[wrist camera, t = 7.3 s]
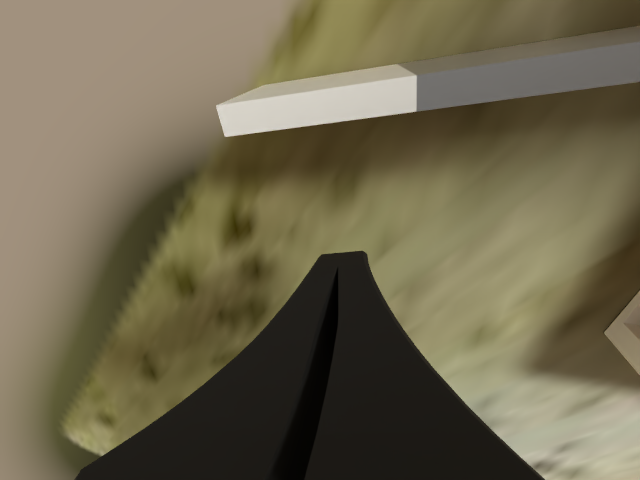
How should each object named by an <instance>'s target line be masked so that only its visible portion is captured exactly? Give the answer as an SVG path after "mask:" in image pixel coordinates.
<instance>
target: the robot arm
mask: <svg viewBox="0 0 640 480" xmlns="http://www.w3.org/2000/svg"><path fill="white" fill-rule="evenodd" d="M75 480H545V479H544V478H543V477H542V476H540V475H539V474H538V473H537V472H536V471H535V470H534V469H533V468H532V467H531V466H529V465H528V464H527V463H526V462H525V461H524V460H523V459H522V458H521V457H520V456H518V455H517V454H516V453H515V452H514V451H513V450H512V449H511V448H510V447H509V446H508V445H507V444H506V443H505V442H504V441H503V440H502V439H501V438H499V437H498V436H497V435H496V434H495V433H494V432H493V431H492V430H491V429H490V428H489V427H488V426H487V425H486V424H485V423H484V422H483V421H482V420H481V419H480V418H479V417H478V416H477V415H476V414H475V413H474V412H473V411H472V410H471V409H470V408H469V407H468V406H467V405H466V404H465V403H464V401H463V400H462V399H461V398H460V397H459V396H458V395H457V394H456V393H455V392H454V390H453V389H452V388H451V387H450V386H449V385H448V384H447V383H446V382H445V381H444V379H443V378H442V377H441V376H440V375H439V374H438V373H437V372H436V371H435V370H434V368H433V367H432V366H431V365H430V363H429V362H428V361H427V360H426V359H425V357H424V356H423V355H422V354H421V352H420V351H419V350H418V349H417V347H416V346H415V345H414V343H413V342H412V341H411V339H410V338H409V337H408V335H407V334H406V332H405V331H404V330H403V328H402V327H401V325H400V324H399V322H398V321H397V319H396V318H395V316H394V314H393V313H392V311H391V310H390V308H389V306H388V305H387V303H386V301H385V299H384V297H383V296H382V294H381V292H380V290H379V288H378V286H377V284H376V282H375V280H374V277H373V275H372V272H371V270H370V267H369V264H368V257H367V254H366V253H365V252H364V251H355V252H344V253H333V254H322V255H321V256H320V257H319V258H318V259H317V261H316V262H315V264H314V265H313V267H312V268H311V270H310V271H309V273H308V274H307V275H306V277H305V278H304V280H303V281H302V283H301V284H300V285H299V287H298V288H297V289H296V291H295V292H294V293H293V295H292V296H291V297H290V298H289V300H288V301H287V302H286V304H285V305H284V306H283V307H282V308H281V310H280V311H279V312H278V313H277V314H276V315H275V317H274V318H273V319H272V320H271V321H270V323H269V324H268V325H267V326H266V327H265V328H264V329H263V330H262V331H261V332H260V334H259V335H258V336H257V337H256V338H255V339H254V340H253V341H252V342H251V343H250V344H249V345H248V346H247V347H246V348H245V349H244V350H243V351H242V352H241V353H240V354H238V355H237V356H236V357H235V358H234V359H233V360H232V361H231V362H229V363H228V364H227V365H226V366H225V367H224V368H222V369H221V370H220V371H219V372H218V373H217V374H215V375H214V376H213V377H212V378H211V379H210V380H208V381H207V382H206V383H205V384H204V385H202V386H201V387H200V388H199V389H197V390H196V391H195V392H194V393H192V394H191V395H190V396H188V397H187V398H186V399H185V400H183V401H182V402H181V403H179V404H178V405H177V406H175V407H174V408H172V409H171V410H170V411H168V412H167V413H166V414H164V415H163V416H161V417H160V418H159V419H157V420H156V421H154V422H153V423H152V424H150V425H149V426H147V427H146V428H144V429H143V430H141V431H140V432H138V433H137V434H135V435H134V436H132V437H131V438H129V439H128V440H126V441H125V442H123V443H122V444H120V445H119V446H117V447H116V448H114V449H113V450H111V451H109V452H108V453H106V454H105V455H103V456H102V457H100V458H99V459H97V460H96V461H94V462H92V463H91V464H89V465H88V466H86V467H84V468H83V469H82V470H81V471H80V473H79V474H78V476H77V477H76V478H75Z"/></svg>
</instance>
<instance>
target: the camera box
mask: <svg viewBox="0 0 640 480" xmlns="http://www.w3.org/2000/svg"><path fill="white" fill-rule="evenodd" d="M604 334H605V335H606V336H607V337H608V338H609V340H610V341H611V342H612V343H613V344H614V346H615V347H616V348H617V349H618V350H619V351H620V353H621V354H622V355H623V356H624V357H625V359H626V360H627V361H628V362H629V363H630V365H631V366H632V367H633V368H634V369H635V370H636V372H637V373H638V374H639V375H640V291H639V292H638V293H637V294H636V296H635V297H634V298H633V299H632V300H631V301H630V303H629V304H628V305H627V306H626V307H625V308H624V310H623V311H622V312H621V313H620V314H619V316H618V317H617V318H616V319H615V320H614V321H613V323H612V324H611V325H610V326H609V327H608V328H607V330H606V331H605V332H604Z"/></svg>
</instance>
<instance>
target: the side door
mask: <svg viewBox="0 0 640 480" xmlns="http://www.w3.org/2000/svg"><path fill="white" fill-rule="evenodd" d="M635 82H640V26H634V27H627V28H621V29H615V30H609V31H602V32H596V33H590V34H583V35H577V36H571V37H564V38H558V39H552V40H545V41H539V42H533V43H526V44H520V45H514V46H507V47H501V48H495V49H489V50H482V51H476V52H470V53H463V54H457V55H451V56H444V57H438V58H432V59H425V60H419V61H413V62H406V63H400V64H394V65H387V66H381V67H375V68H369V69H362V70H356V71H350V72H343V73H337V74H331V75H324V76H318V77H312V78H305V79H299V80H293V81H286V82H280V83H274V84H267V85H263V86H260V87H258V88H256V89H253V90H251V91H249V92H246V93H244V94H242V95H239V96H237V97H235V98H232V99H230V100H228V101H225V102H223V103H221V104H218V105H216V108H217V111H218V114H219V118H220V121H221V125H222V128H223V132H224V135H225V137H229V136H237V135H244V134H252V133H259V132H267V131H274V130H282V129H289V128H297V127H304V126H312V125H319V124H327V123H334V122H342V121H349V120H357V119H364V118H372V117H379V116H387V115H394V114H402V113H410V112H417V111H425V110H432V109H440V108H447V107H455V106H462V105H470V104H477V103H485V102H492V101H500V100H507V99H515V98H522V97H530V96H537V95H545V94H552V93H560V92H567V91H575V90H582V89H590V88H597V87H605V86H612V85H620V84H627V83H635Z"/></svg>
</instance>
